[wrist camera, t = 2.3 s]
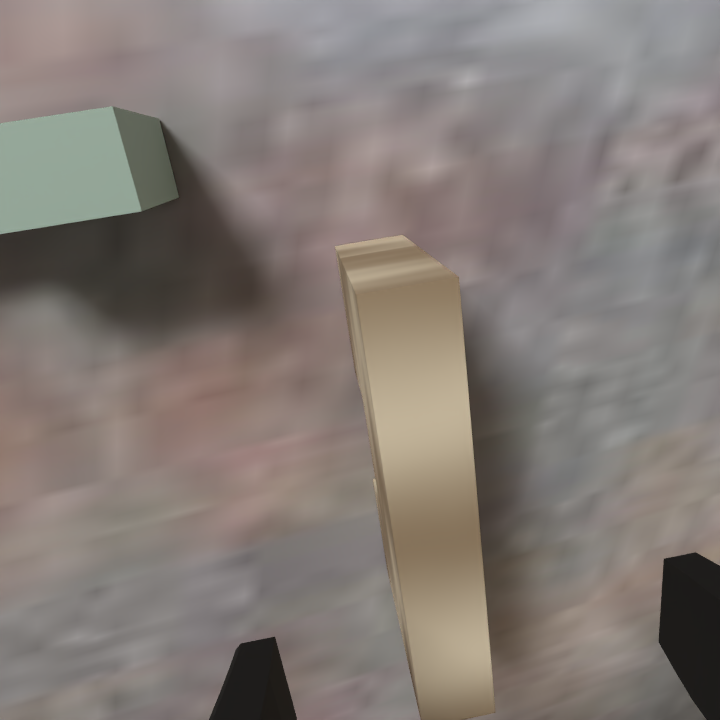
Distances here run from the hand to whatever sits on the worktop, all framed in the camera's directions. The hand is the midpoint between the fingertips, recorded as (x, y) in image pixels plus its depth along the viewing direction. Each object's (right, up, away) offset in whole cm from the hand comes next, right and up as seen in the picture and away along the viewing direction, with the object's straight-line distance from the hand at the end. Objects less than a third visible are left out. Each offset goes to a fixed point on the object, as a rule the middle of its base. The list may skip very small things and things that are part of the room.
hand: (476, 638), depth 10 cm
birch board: (-1, +3, +8) cm, 9 cm away
